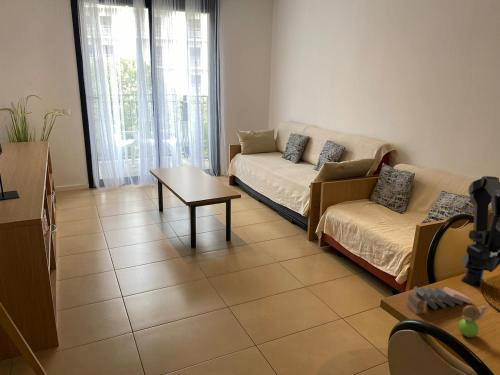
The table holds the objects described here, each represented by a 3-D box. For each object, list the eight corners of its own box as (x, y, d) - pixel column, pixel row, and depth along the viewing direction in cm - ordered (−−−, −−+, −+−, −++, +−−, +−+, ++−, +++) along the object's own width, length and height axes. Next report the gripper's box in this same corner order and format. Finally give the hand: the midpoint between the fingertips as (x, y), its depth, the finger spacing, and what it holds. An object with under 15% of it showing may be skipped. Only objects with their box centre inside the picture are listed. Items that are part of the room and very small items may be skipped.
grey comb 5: (429, 300, 132) (415, 286, 128) (438, 307, 128) (424, 293, 124) (426, 303, 132) (412, 289, 128) (435, 310, 128) (421, 296, 124)
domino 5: (462, 293, 136) (444, 286, 132) (472, 300, 132) (454, 293, 128) (460, 296, 136) (442, 289, 132) (470, 303, 132) (452, 296, 128)
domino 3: (445, 296, 134) (429, 287, 130) (455, 303, 130) (438, 294, 126) (443, 299, 134) (427, 290, 130) (453, 307, 130) (436, 297, 126)
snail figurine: (483, 342, 113) (491, 308, 109) (460, 339, 114) (467, 305, 110) (476, 331, 118) (484, 297, 114) (454, 328, 119) (461, 295, 116)
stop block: (414, 305, 130) (416, 292, 129) (423, 312, 126) (425, 300, 125) (406, 306, 130) (408, 294, 128) (415, 314, 126) (417, 301, 124)
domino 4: (453, 295, 135) (436, 287, 131) (463, 302, 131) (446, 294, 127) (451, 298, 135) (434, 290, 131) (461, 305, 131) (444, 297, 127)
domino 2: (437, 298, 133) (422, 286, 129) (446, 305, 129) (431, 293, 125) (434, 301, 133) (419, 290, 129) (444, 308, 129) (428, 297, 125)
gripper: (499, 218, 135) (490, 257, 140) (457, 223, 130) (449, 263, 134) (529, 230, 125) (519, 272, 129) (485, 236, 120) (475, 279, 124)
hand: (489, 271), depth 130 cm, fingers closed
